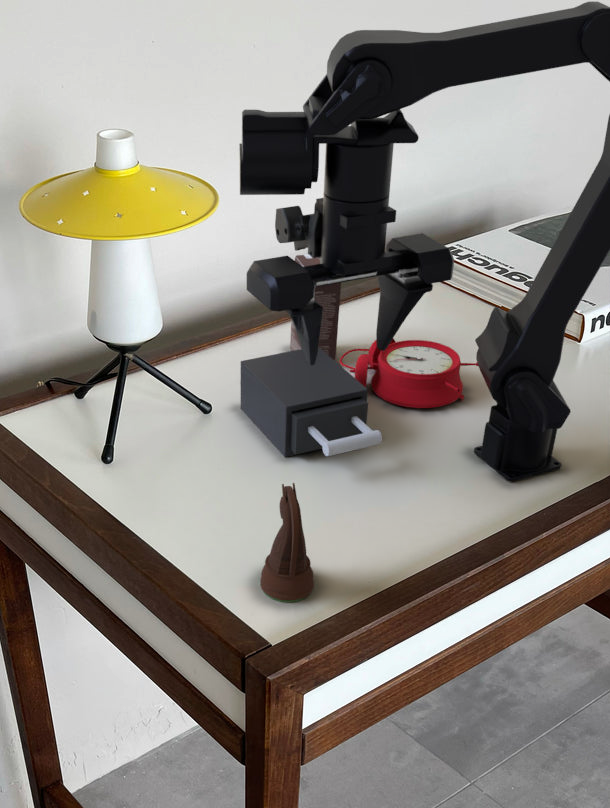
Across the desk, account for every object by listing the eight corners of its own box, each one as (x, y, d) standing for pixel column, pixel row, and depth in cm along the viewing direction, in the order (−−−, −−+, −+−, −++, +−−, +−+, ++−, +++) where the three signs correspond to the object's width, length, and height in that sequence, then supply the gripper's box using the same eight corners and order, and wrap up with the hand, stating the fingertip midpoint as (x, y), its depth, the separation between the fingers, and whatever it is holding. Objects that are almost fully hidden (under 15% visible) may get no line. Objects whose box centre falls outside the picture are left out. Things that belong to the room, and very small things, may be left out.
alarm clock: (459, 391, 108) (335, 335, 112) (440, 437, 112) (321, 382, 116) (487, 353, 116) (371, 302, 120) (469, 398, 120) (356, 347, 124)
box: (338, 365, 122) (343, 269, 115) (301, 369, 121) (305, 273, 114) (323, 344, 127) (328, 251, 120) (288, 348, 126) (291, 254, 119)
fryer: (364, 438, 108) (368, 389, 104) (284, 457, 105) (286, 407, 101) (315, 392, 116) (317, 345, 113) (240, 408, 113) (240, 360, 110)
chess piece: (307, 566, 89) (311, 471, 84) (320, 603, 85) (325, 505, 80) (256, 572, 89) (257, 476, 83) (266, 609, 85) (268, 510, 79)
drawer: (389, 460, 102) (393, 424, 100) (317, 478, 100) (319, 441, 97) (319, 395, 114) (321, 361, 112) (253, 409, 111) (253, 375, 109)
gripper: (400, 157, 97) (387, 309, 106) (221, 181, 91) (223, 340, 100) (467, 189, 89) (446, 351, 98) (274, 218, 83) (271, 388, 92)
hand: (346, 356), depth 97 cm, fingers open, 7 cm apart
